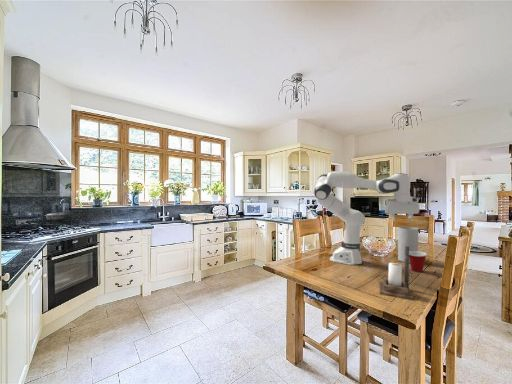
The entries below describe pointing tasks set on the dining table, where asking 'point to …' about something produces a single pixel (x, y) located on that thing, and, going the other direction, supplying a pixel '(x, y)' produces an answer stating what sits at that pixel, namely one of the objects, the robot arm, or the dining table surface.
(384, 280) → the roll holder
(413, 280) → the dining table surface
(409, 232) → the cylinder vase
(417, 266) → the plastic cup
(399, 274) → the paper roll
